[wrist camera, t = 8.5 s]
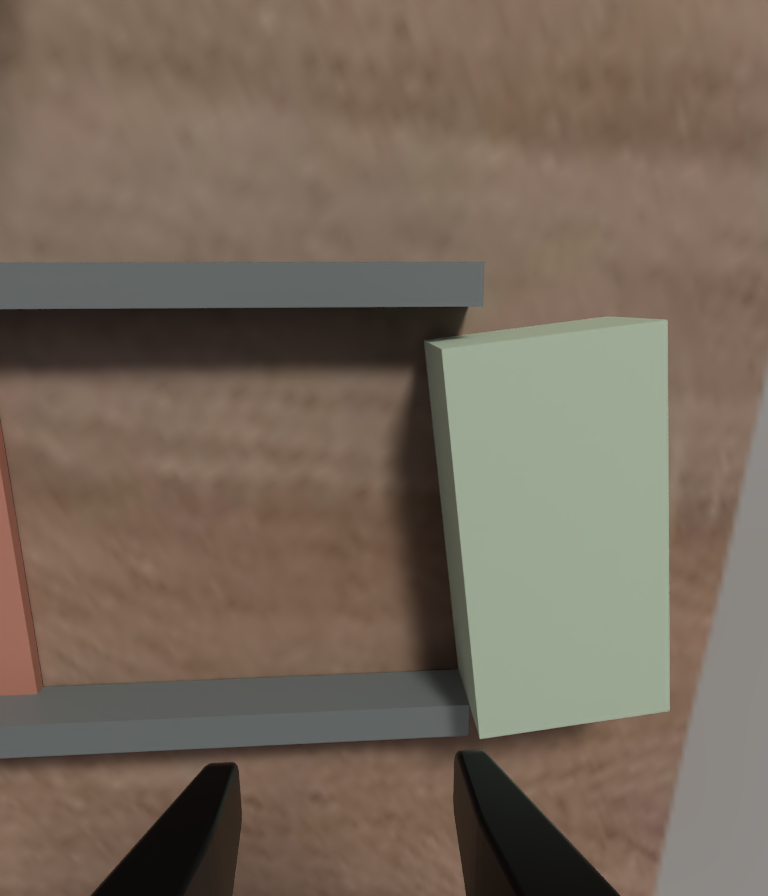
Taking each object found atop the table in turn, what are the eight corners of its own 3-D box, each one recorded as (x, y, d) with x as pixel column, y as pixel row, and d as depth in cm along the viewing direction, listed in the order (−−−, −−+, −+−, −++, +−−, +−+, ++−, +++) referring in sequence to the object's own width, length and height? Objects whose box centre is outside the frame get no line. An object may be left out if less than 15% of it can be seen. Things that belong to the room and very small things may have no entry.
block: (456, 663, 22) (479, 739, 18) (422, 339, 19) (441, 348, 15) (614, 640, 22) (669, 710, 19) (603, 316, 20) (667, 319, 16)
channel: (-81, 721, 21) (-124, 764, 19) (-181, 267, 17) (-248, 262, 15) (457, 697, 22) (468, 735, 20) (469, 266, 19) (484, 262, 17)
